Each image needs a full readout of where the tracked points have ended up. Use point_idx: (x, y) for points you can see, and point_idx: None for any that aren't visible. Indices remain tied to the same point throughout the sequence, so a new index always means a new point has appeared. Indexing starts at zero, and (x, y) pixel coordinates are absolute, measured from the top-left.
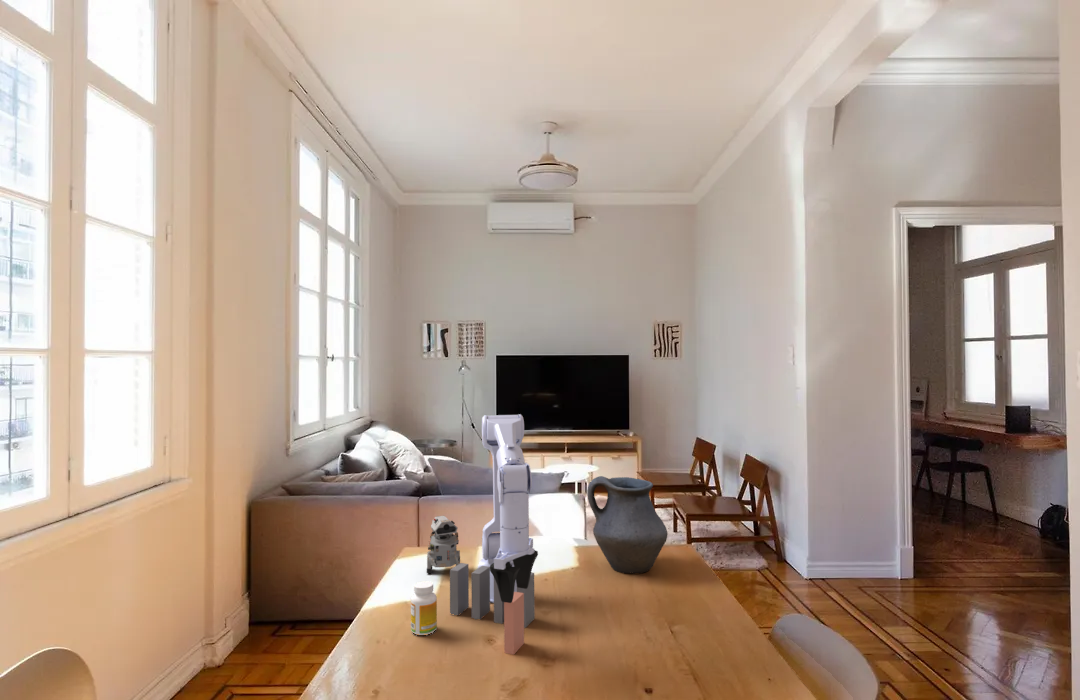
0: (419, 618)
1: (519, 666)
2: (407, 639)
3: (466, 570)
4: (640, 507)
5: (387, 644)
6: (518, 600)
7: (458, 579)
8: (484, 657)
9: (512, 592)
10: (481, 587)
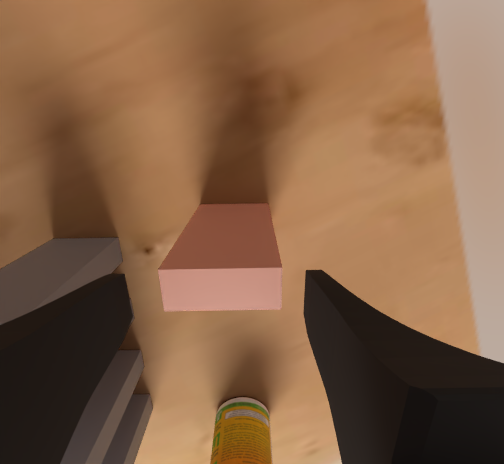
0: (270, 449)
1: (321, 162)
2: (287, 420)
3: None
4: None
5: (317, 436)
6: (224, 262)
7: None
8: (305, 260)
9: (346, 289)
10: (91, 424)
